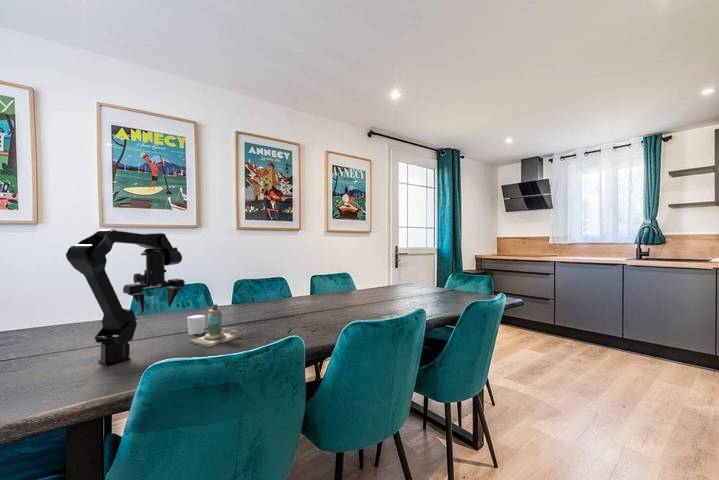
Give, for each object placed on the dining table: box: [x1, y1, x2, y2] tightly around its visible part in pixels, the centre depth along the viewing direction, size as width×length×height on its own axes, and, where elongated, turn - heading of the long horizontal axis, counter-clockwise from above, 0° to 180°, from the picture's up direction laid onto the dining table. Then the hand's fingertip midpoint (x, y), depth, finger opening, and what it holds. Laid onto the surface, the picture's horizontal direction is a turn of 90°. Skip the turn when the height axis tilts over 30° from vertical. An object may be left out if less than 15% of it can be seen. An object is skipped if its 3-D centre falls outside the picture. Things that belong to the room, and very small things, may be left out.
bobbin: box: [204, 304, 224, 340], centre depth 123 cm, size 7×7×12 cm
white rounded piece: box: [186, 314, 206, 336], centre depth 132 cm, size 7×7×7 cm
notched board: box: [189, 327, 239, 348], centre depth 123 cm, size 14×10×2 cm
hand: (156, 309), depth 117 cm, fingers open, 9 cm apart
